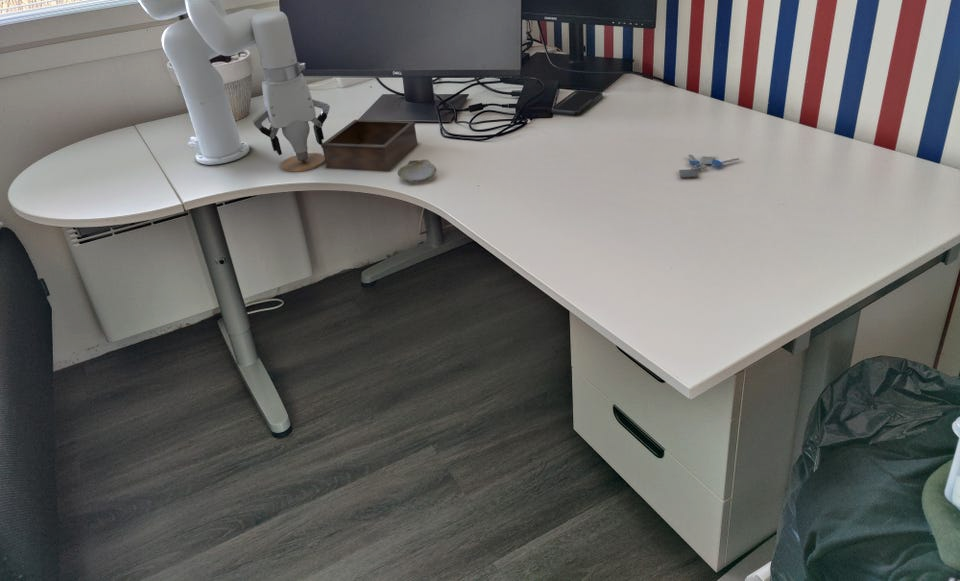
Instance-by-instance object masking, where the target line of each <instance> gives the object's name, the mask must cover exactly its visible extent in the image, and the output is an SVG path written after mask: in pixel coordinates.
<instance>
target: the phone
mask: <svg viewBox="0 0 960 581" xmlns="http://www.w3.org/2000/svg"><path fill="white" fill-rule="evenodd" d="M601 99H603V92H602V91H595V90H582V89H577V90H574V91H572V92H571V93H570V94H568V95H567V96H565V97H564V98H563V99H562V100H560V101H559V102H557V103H556V104H554V105H553V106H552V107H551V114H553V115H554V114H555V115H564V116H572V117H573V116H574V117H579V116H582V114H584V113H585V112H586V111H588V110H589V109H590V108H592V107H593V106H594V105H595V104H596V103H598V102H599V101H600V100H601Z"/></svg>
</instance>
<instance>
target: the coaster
mask: <svg viewBox="0 0 960 581" xmlns="http://www.w3.org/2000/svg"><path fill="white" fill-rule="evenodd" d="M307 153H308V159H307V160H306V161H305V162H301V161H299V160H297V157H296V155H293V156H291V157H288V158H286V159H285V160H284V161H282V163H281V165H280V166H281V169H282V170H283V171H285V172H292V173H300V172H307V171H310V170H312V169H313V170H314V169H316V168H319V167H320V166H322V165H323V164H324V163H326V162H325V157H324V154H321V153H316V152H307Z"/></svg>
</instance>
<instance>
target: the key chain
mask: <svg viewBox="0 0 960 581" xmlns="http://www.w3.org/2000/svg"><path fill="white" fill-rule="evenodd" d="M687 157H688V158H689V159H690V160H688V163H689V164H690V165H693V166H694V167H693V168H692V167H691V169H679V170H678V173H679V176H680V177H681V178H694V177H698V175H699V174H698V171H702V170H705V169H707V168H711V167H717V168H720V167H723V165H724V164H727V163H732V162H736V161H739V160H740V158H739V157H737V158H731V159H726V160H723V161H720V160H718V159H714V157H712V156H704V155H703V156H702V157H701V162H700V160H697V159H696V157H694V155H692V154H687Z"/></svg>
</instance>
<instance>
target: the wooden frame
mask: <svg viewBox="0 0 960 581" xmlns="http://www.w3.org/2000/svg"><path fill="white" fill-rule="evenodd" d="M417 138H418V137H417V132H416V121H415V120H414V121H413V120H411V121H410V120H380V119H353V120H352V121H351V122H349V123H348V124H347V125H345V126H344V127H342V129H340V130H338V131H337V132H336V133H335V134H333V135H332V136H331V137H329V138H328V139H326V140H325V141H323V142H322V143H323V144H321V145H320V148H321V149H322V153H323V156H324V157H325V162H324V163H325V166H326V169H341V170H342V169H343V170H361V171H378V172H390V171H391V170H392V169H393V168H394V167H395V166H396V165H398V164H399V162H400V161H401V160H403V159H404V158H405V157H406V156H407V155H408V154H409V153H411V151H412V150H413V149H415V148H416V147H417V145H418V139H417Z"/></svg>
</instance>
